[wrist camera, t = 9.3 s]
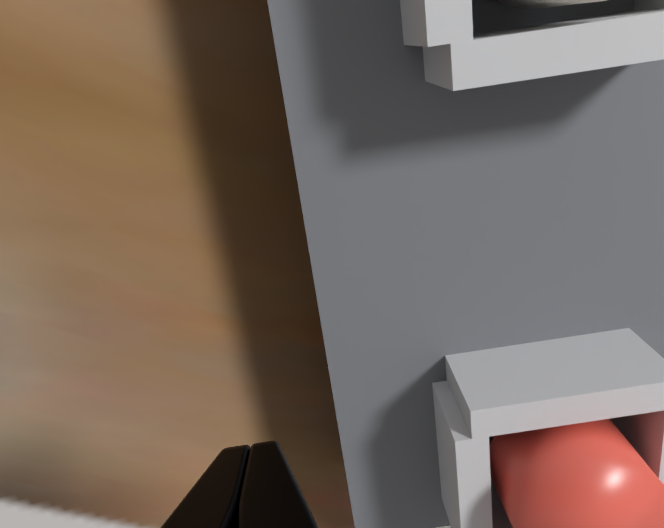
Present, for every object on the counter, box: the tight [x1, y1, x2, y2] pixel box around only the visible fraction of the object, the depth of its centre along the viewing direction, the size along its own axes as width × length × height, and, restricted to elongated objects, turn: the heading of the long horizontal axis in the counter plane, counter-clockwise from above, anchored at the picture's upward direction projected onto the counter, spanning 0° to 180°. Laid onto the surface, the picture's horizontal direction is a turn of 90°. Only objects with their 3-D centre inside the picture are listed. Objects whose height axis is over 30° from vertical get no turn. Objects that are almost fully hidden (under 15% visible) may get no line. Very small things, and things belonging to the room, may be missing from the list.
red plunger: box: [489, 419, 664, 528], centre depth 17 cm, size 4×4×3 cm
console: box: [267, 0, 664, 528], centre depth 18 cm, size 14×24×7 cm, turn 8°
